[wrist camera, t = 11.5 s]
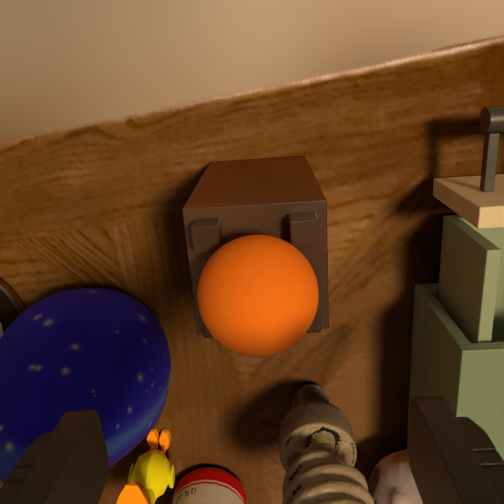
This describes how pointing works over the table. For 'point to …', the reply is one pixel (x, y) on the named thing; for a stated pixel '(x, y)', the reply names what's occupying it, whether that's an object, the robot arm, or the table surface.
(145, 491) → the toy figure
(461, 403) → the cabinet
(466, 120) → the table surface
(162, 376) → the ornament
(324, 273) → the stand
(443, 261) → the drawer
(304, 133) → the table surface
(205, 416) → the table surface
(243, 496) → the beer can
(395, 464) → the figurine
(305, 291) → the ball
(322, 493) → the light bulb
